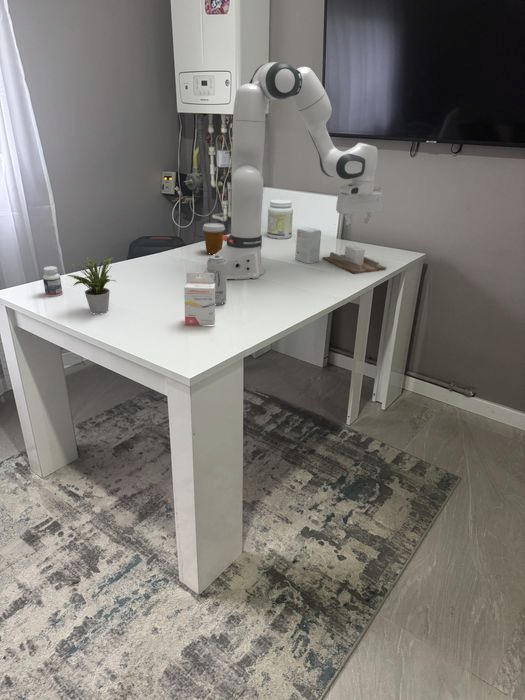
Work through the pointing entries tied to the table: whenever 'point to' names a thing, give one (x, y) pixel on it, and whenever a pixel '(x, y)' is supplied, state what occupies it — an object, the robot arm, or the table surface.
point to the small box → (308, 245)
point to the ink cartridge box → (199, 299)
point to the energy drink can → (218, 276)
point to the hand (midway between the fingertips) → (357, 224)
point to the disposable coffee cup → (213, 237)
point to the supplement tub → (280, 219)
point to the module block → (355, 253)
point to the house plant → (96, 286)
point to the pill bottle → (52, 282)
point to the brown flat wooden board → (353, 264)
